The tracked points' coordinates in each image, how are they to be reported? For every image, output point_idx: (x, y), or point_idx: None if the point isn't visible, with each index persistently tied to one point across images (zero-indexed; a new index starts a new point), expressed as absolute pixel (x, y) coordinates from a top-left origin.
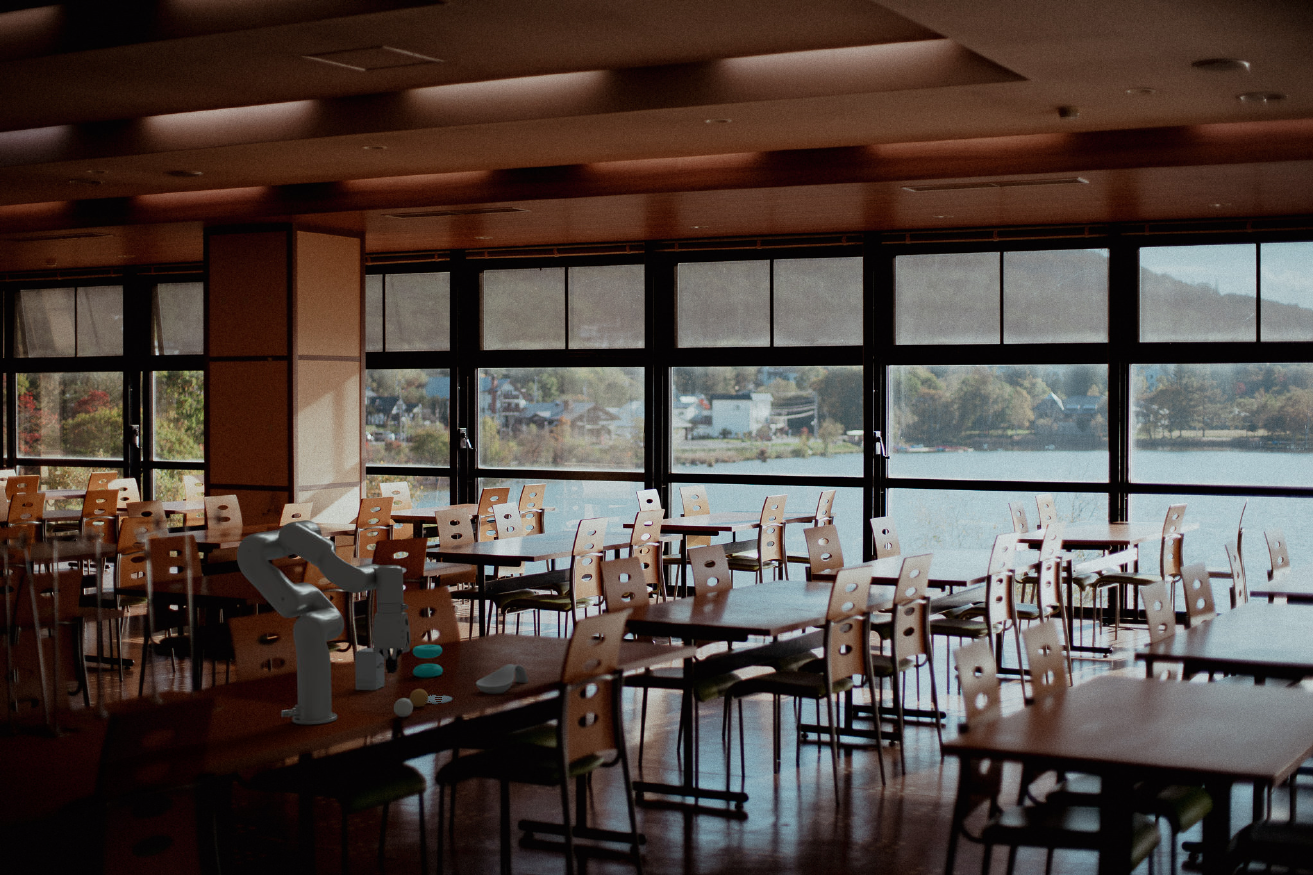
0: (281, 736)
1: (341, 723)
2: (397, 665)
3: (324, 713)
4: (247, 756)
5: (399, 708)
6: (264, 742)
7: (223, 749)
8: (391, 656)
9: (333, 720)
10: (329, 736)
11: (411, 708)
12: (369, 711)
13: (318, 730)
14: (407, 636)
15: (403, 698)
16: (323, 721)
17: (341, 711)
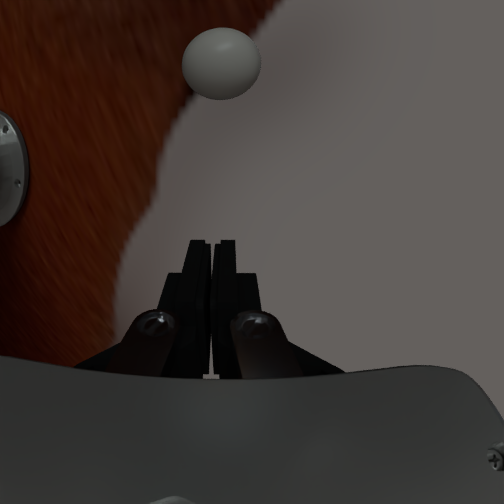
0: (26, 325)
1: (58, 190)
2: (257, 289)
3: (2, 194)
4: None
5: (216, 99)
6: None
7: None
8: (195, 340)
9: (28, 173)
10: (113, 328)
11: (259, 72)
12: (77, 15)
13: (52, 274)
14: (486, 495)
15: (222, 60)
16: (19, 207)
17: (7, 46)
